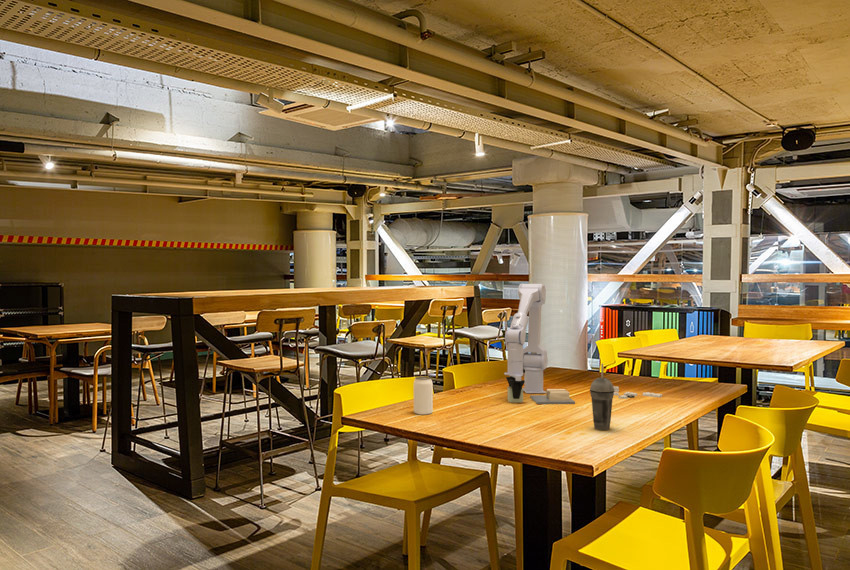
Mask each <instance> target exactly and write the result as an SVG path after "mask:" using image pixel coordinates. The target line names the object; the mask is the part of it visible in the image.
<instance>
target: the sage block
mask: <svg viewBox="0 0 850 570" xmlns="http://www.w3.org/2000/svg"><path fill="white" fill-rule="evenodd" d="M523 388H524V387H522V389H521V394H520V398H519V399H514V398H513V393H512V387H509V386H507V401H508V402H509V403H524V391H523Z"/></svg>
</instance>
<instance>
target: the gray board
mask: <svg viewBox="0 0 850 570" xmlns="http://www.w3.org/2000/svg"><path fill="white" fill-rule="evenodd" d="M529 398H530V399H531V400H532V402H534V401H535V402H536V403H537V404H536V403H535V402H534V403H535V404H536V405H575V404H576V401H575V400H574V399H572V398H570V397H569V400H557V401H550V400H549V399H548V398H547V397H546V394H545V395H544V394H543V395H540V394H539V395H534V394H533V395H532V394H531V395H529Z"/></svg>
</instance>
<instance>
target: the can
mask: <svg viewBox="0 0 850 570" xmlns="http://www.w3.org/2000/svg"><path fill="white" fill-rule="evenodd" d="M433 387H434V385H433V381H432V377H431V376H415V377H414V381H413V413H414V414H415V415H418V416H419V415H421V416H425V415H431V414H432V413H433V407H434V406H433V405H434V404H433V401H434V400H433V397H434V395H433V392H434V391H433V390H434V389H433Z"/></svg>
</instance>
